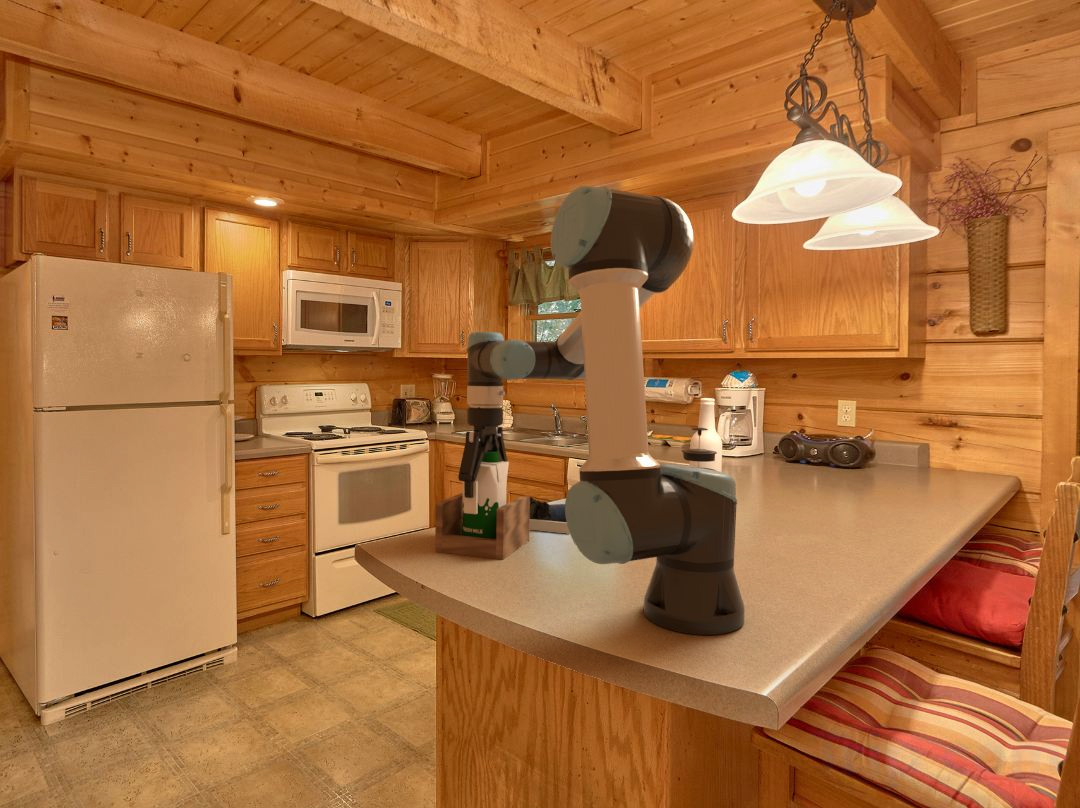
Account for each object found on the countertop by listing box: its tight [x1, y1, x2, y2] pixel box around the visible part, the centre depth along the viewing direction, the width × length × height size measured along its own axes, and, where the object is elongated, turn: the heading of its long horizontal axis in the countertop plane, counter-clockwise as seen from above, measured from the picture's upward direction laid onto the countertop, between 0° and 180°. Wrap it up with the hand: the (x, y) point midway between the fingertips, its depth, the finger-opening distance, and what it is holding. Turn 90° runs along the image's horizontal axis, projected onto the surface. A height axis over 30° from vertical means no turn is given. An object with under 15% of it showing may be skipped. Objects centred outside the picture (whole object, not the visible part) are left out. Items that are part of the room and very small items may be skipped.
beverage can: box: [530, 496, 566, 522], centre depth 160 cm, size 9×8×12 cm
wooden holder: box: [434, 492, 531, 561], centre depth 139 cm, size 15×15×10 cm
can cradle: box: [529, 515, 570, 535], centre depth 160 cm, size 15×12×2 cm
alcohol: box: [689, 397, 723, 472], centre depth 185 cm, size 9×9×30 cm
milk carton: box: [458, 451, 510, 539], centre depth 139 cm, size 9×9×20 cm
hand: (484, 506), depth 139 cm, fingers open, 13 cm apart
